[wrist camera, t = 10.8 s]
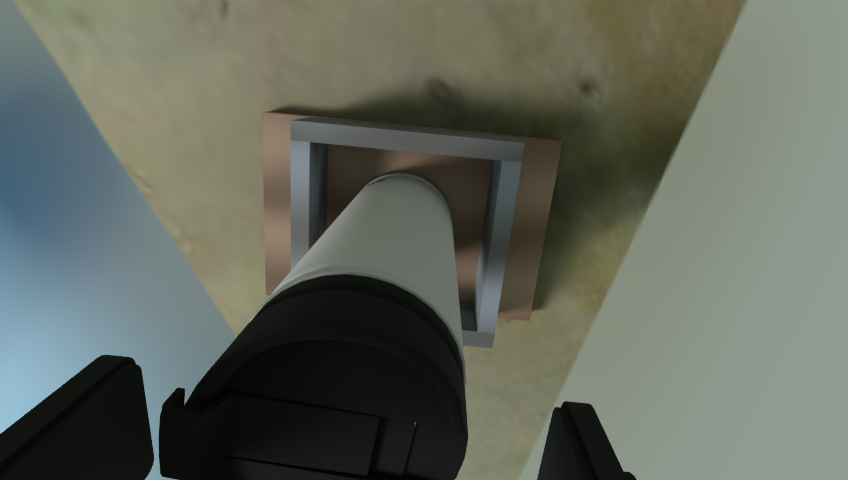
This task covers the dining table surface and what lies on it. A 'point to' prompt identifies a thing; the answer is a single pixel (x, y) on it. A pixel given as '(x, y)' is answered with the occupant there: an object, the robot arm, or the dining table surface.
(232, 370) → the travel mug
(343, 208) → the jig cradle
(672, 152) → the dining table surface
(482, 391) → the dining table surface
